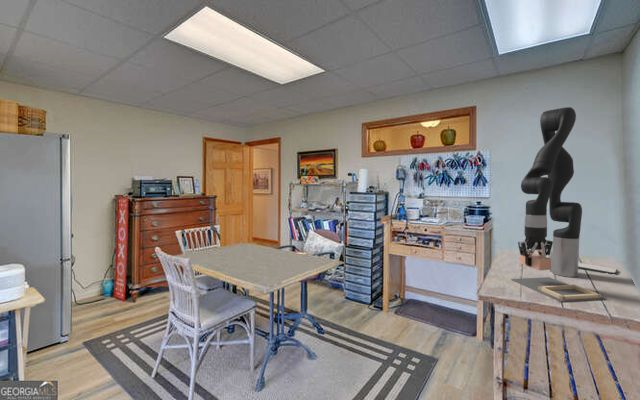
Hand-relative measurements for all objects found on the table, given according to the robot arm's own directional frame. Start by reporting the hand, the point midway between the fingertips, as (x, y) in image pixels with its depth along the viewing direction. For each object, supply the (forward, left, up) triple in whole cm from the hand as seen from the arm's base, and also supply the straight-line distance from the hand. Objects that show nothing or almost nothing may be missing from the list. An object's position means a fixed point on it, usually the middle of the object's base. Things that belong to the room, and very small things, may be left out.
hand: (534, 265), depth 123 cm
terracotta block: (0, 0, 0) cm, 0 cm away
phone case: (-15, +44, -8) cm, 47 cm away
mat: (+6, +3, -8) cm, 11 cm away
